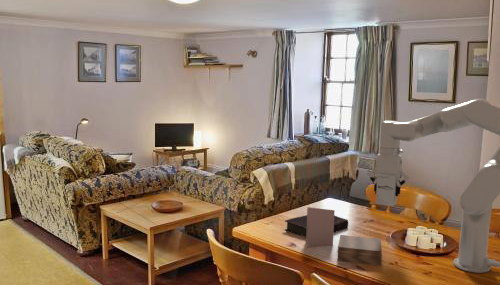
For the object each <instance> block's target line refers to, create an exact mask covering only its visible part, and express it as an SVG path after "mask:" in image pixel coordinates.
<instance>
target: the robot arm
mask: <svg viewBox="0 0 500 285" xmlns="http://www.w3.org/2000/svg"><path fill="white" fill-rule="evenodd" d="M472 125H474V126H477V127H478V128H481V129H483V130H486V131H489V132H491V133H493V134H495V135H497V136H500V107H498V106H495V105H492V104H491V103H490V102H489V100H487V99H485V98H475V99H473V100H469V101H467V102H463V103H460V104H457V105H453V106H450V107H447V108H444V109H441V110H439V111H437V112H435V113H432V114H429V115H426V116H424V117H421V118H417V119H414V120H413V119H412V120H410V121H405V122H399V121H397V120H383V121H382V122H381V124H380V135H379V136H380V138H379V139H380V140H379V141H380V142H379V153H378V154H377V157H376V161H375V166H374V167H375V168H373V169H372V170H370V171H368V172H367V176H368V178H369V179H370V180H371V181H372V183H373V184H374V186H373V187H374V188H373V191H374V193H375V195H376V190H377V175H378V174H388V175H396V184H397V186H396V196H397V197H399V195H401V188H402V186H403V185H404V184H406V182H407V181H408V180H409V179H410V176H409V175H408V174H406V172H404V171H403V166H402V163H403V161H402V155H401V154H403V153H404V149H401V148H400V144H401V143H400V142H401V141H402V142H413V141H415V140H417V139H421V138H424V137H428V136H430V135H435V134H437V133H438V134H439V133H448V132H452V131H455V130H459V129H462V128H465V127H469V126H472ZM373 174H374V176H373ZM402 177H403V179H402V180H400V179H401V178H402ZM498 196H500V145H499V146H498V148H497V149H496V151H495V152H494V154H493V155H492V156H491V157H490V158H489V160H488V161H487V162H485V164H484V165H483V166H482V167H481V168H480V169H479V170H478V172H477V173H476V175H475V176H474V177H473V178H472V179H471V181H470V182H469V184H468V185H467V186H466V188H465V189H464V191H463V192H462V193H461V195H460V197H459V205H460V208H461V210H462V214H461V224H460V232H459V233H460V234H459V245H458V254H457V255H458V256H457V257H455V258H454V259H453V260H452V261H453V266H455V267H456V268H457V269H460V270H462V271H466V272H470V273H480V274H482V273H488V272H490V271H491V267H494V268H495V267H496V268H500V261H497V259H490V258H489V257H488V246H489V234H490V227H491V226H490V225H491V218H492V209H493V204H494V202H495V200H496V199H497V198H498Z"/></svg>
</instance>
